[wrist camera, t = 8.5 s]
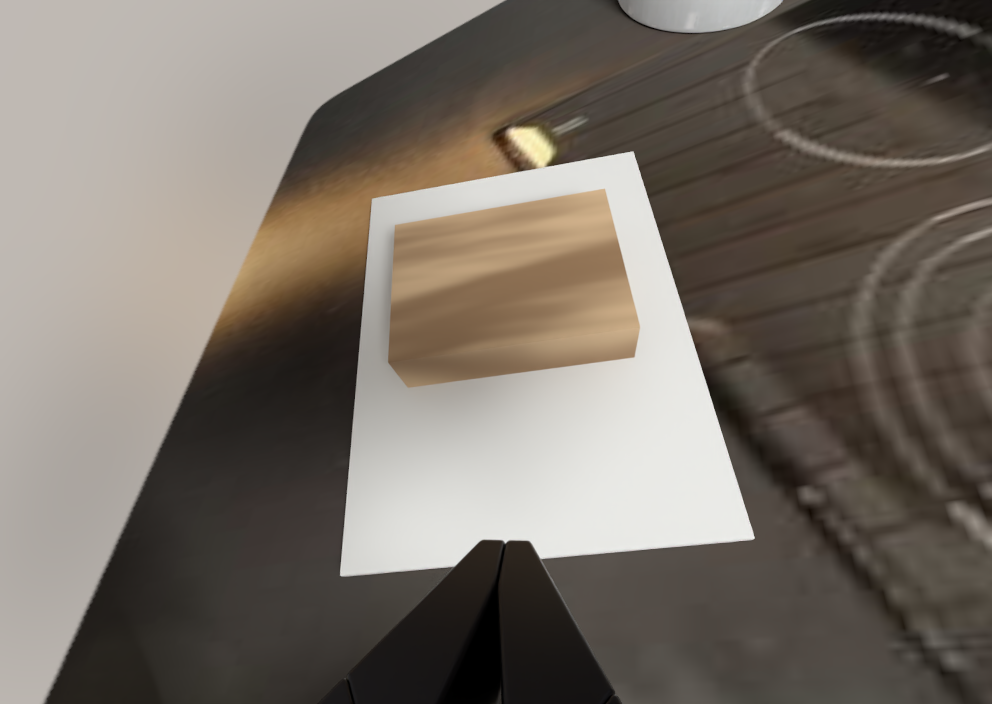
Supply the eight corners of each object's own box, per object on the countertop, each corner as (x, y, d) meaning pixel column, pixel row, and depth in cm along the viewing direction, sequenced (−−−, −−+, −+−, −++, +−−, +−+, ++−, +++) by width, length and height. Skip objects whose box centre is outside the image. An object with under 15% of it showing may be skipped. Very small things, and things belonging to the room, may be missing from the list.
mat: (751, 540, 20) (754, 538, 20) (344, 576, 22) (339, 575, 21) (632, 157, 32) (633, 151, 31) (374, 204, 34) (372, 198, 33)
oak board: (640, 327, 22) (604, 188, 26) (387, 362, 23) (394, 225, 27) (634, 357, 24) (603, 226, 29) (408, 387, 26) (411, 258, 30)
